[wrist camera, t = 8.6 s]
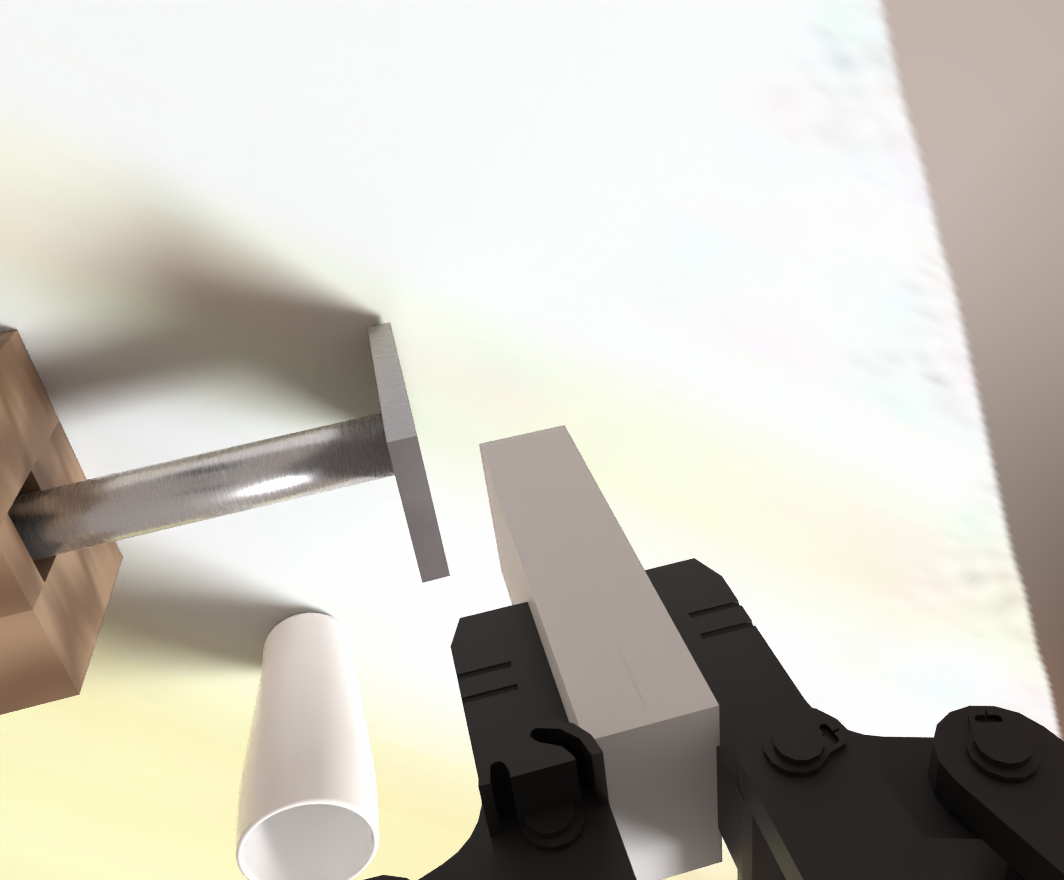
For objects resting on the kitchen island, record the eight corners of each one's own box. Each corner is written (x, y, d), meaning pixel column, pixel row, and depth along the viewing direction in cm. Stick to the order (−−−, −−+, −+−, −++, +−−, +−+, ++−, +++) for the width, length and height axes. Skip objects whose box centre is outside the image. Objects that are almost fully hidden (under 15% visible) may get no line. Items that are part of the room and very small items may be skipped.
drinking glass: (317, 699, 57) (320, 914, 44) (228, 653, 53) (202, 870, 41) (386, 631, 55) (410, 831, 42) (299, 579, 52) (296, 779, 39)
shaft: (-102, 427, 43) (-248, 589, 31) (390, 322, 46) (417, 435, 34) (-36, 543, 46) (-147, 726, 35) (417, 438, 49) (449, 575, 38)
